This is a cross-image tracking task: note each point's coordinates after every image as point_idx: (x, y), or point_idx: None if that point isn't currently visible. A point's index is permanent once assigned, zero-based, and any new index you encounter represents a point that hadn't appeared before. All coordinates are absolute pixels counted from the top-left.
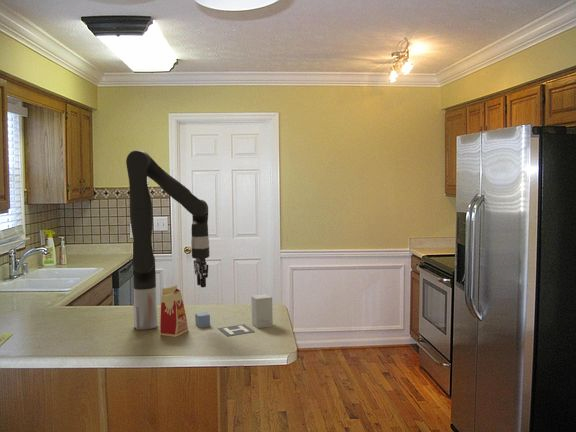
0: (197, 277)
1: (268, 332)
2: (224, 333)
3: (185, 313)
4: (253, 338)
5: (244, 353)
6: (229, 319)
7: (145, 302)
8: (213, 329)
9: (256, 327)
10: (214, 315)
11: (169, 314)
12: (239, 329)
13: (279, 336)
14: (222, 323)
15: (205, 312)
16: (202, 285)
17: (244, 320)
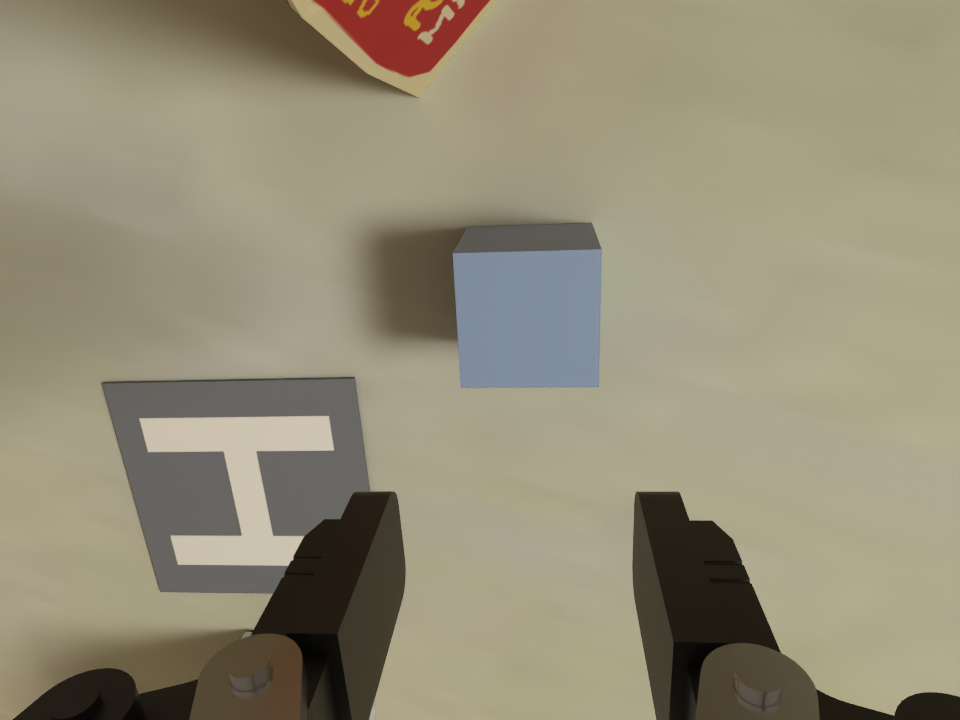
0: (673, 631)
1: (124, 654)
2: (180, 384)
3: (348, 56)
4: (10, 528)
5: None
6: (595, 547)
7: None
8: (348, 337)
9: (249, 633)
10: (815, 479)
11: None
12: (247, 518)
13: (18, 673)
14: (500, 460)
15: (585, 372)
16: (308, 536)
17: (499, 631)
